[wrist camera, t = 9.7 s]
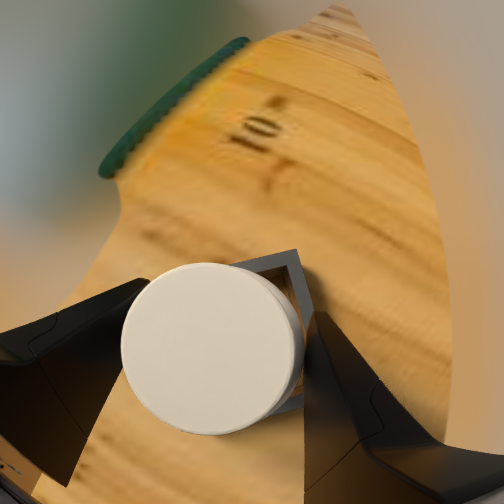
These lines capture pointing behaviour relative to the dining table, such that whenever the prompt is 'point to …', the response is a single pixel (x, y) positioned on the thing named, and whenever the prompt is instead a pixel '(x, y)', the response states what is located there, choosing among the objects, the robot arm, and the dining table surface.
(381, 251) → the dining table surface
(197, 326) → the supplement bottle
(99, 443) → the dining table surface
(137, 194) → the dining table surface
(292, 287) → the collar
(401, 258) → the dining table surface
